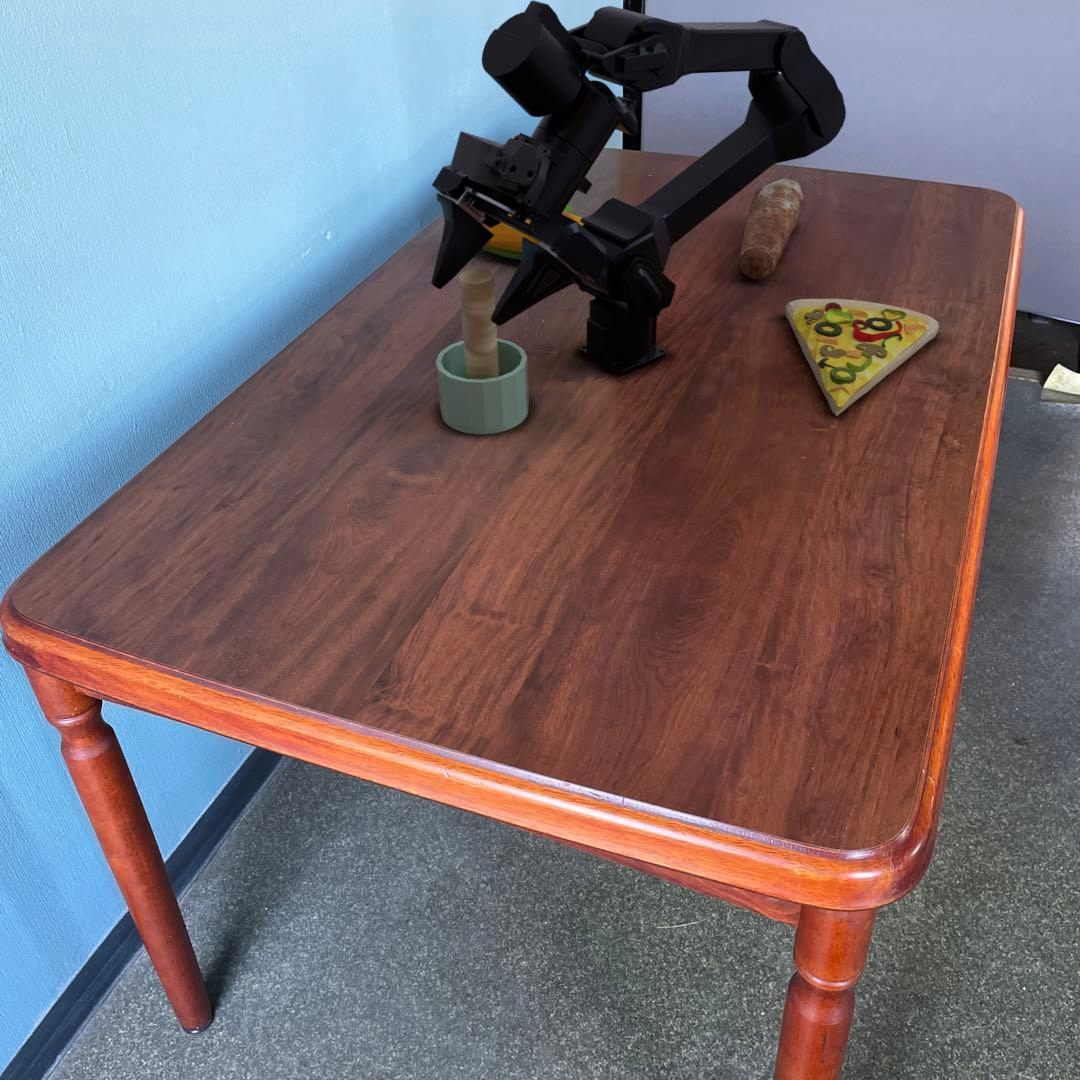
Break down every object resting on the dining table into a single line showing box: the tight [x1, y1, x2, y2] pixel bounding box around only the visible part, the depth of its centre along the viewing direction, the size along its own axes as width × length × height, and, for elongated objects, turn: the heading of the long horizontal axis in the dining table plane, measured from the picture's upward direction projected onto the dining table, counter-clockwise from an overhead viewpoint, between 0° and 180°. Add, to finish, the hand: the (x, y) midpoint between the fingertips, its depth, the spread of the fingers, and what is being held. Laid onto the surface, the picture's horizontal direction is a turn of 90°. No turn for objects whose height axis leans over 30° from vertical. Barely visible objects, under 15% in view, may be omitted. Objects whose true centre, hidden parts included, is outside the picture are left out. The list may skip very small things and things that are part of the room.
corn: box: [481, 204, 583, 261], centre depth 125 cm, size 7×8×20 cm
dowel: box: [458, 268, 499, 380], centre depth 97 cm, size 3×3×13 cm
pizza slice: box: [785, 298, 940, 417], centre depth 105 cm, size 16×21×3 cm
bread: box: [738, 177, 806, 280], centre depth 126 cm, size 6×19×6 cm, turn 160°
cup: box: [435, 337, 530, 435], centre depth 99 cm, size 8×8×6 cm
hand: (464, 304), depth 93 cm, fingers open, 9 cm apart
